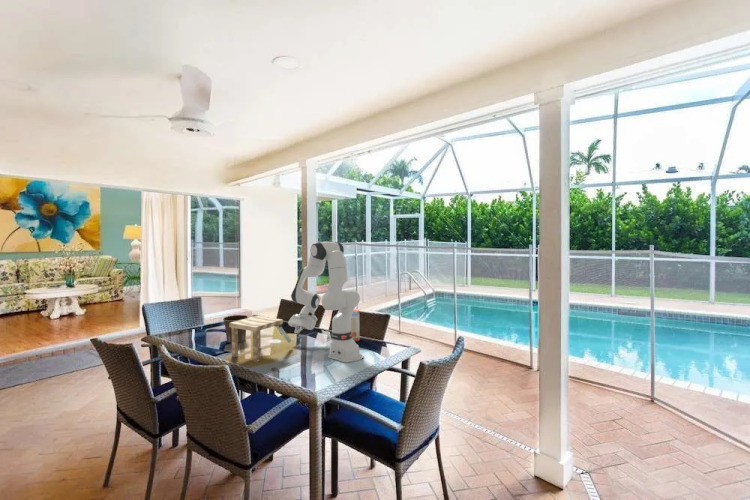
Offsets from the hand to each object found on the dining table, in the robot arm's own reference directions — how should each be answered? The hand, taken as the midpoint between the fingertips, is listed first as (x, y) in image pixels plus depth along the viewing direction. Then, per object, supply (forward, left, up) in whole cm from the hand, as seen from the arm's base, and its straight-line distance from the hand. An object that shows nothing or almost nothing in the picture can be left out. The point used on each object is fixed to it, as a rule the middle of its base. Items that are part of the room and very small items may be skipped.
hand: (296, 332), depth 248 cm
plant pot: (+38, +26, -9) cm, 46 cm away
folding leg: (-2, +6, -4) cm, 8 cm away
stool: (0, +27, -8) cm, 28 cm away
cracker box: (-12, -34, -9) cm, 37 cm away
